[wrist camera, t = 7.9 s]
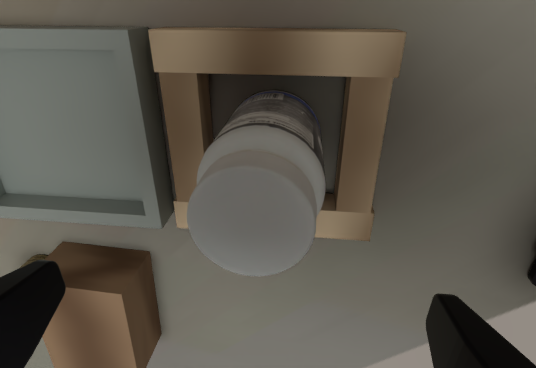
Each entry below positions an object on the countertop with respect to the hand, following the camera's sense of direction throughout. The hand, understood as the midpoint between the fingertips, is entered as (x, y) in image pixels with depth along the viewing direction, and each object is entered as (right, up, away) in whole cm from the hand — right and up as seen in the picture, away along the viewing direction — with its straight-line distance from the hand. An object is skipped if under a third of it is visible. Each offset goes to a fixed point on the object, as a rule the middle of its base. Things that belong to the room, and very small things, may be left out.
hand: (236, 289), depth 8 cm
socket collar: (+1, +5, +10) cm, 11 cm away
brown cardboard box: (-10, -5, +17) cm, 20 cm away
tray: (-10, +6, +11) cm, 16 cm away
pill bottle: (+1, +5, +10) cm, 11 cm away
